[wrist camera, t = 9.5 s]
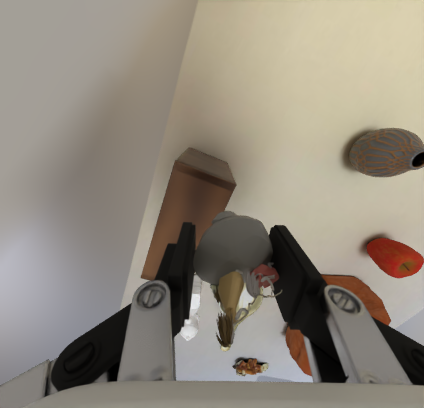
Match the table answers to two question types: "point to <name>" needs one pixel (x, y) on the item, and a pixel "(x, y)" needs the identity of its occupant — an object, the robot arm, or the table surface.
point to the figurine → (234, 265)
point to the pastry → (249, 367)
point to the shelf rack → (189, 202)
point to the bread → (355, 286)
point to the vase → (387, 152)
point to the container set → (193, 311)
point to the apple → (395, 257)
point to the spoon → (243, 303)
